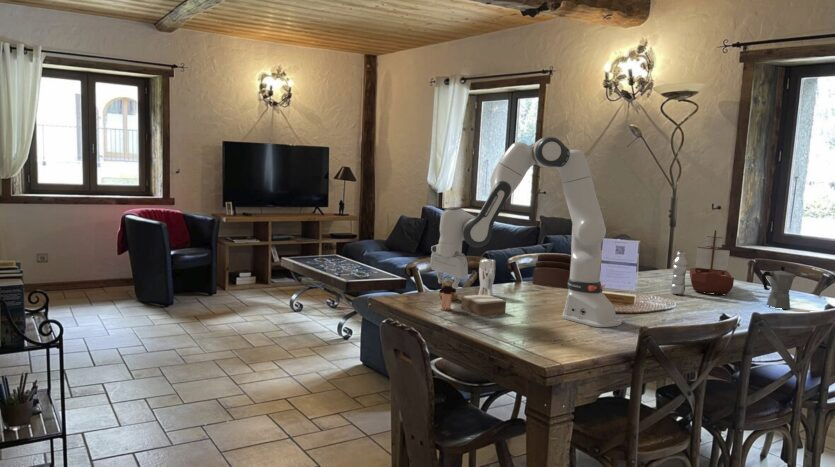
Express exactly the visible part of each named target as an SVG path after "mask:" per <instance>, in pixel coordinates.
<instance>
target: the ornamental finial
mask: <svg viewBox="0 0 835 467" xmlns="http://www.w3.org/2000/svg"><path fill="white" fill-rule="evenodd" d="M452 283H454V281H453V282H452ZM452 283H451V285H450V286H452ZM443 286H446V285H445V283H443V284H441V288H442V287H443ZM455 290H456V291H457V289H455ZM451 295H452V296H451V302H452V301H453V300H454V301H456V300H457V299H458V297H459V296H458V294H457V295H456V296H455V295H454V293H453V292H451ZM442 296H443V292H442V293H441V294H440V296H439V299H441V300H442Z"/></svg>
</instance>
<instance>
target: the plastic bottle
mask: <svg viewBox="0 0 835 467" xmlns="http://www.w3.org/2000/svg"><path fill="white" fill-rule="evenodd" d="M688 266H689V264H688V260H687V259H686V251H682V250H677V251H676V257H675V258H674V259H673V261H672V279H671V283H670V293H671V294H674V295H676V294H678V295H677V296H679V295H684V294H685V292H686V285H685V284H686V272H687V269H688Z"/></svg>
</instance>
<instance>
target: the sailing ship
mask: <svg viewBox="0 0 835 467" xmlns="http://www.w3.org/2000/svg"><path fill="white" fill-rule="evenodd" d="M723 238H724V237H720V236H717V230H713V236H710V235H709V236H706V240H705V241H706V242H705V247H704V246H703V247H701V246H697V247H696V248H697V249H696V257H695V267H694V268H693V267H691V268H690V269H689V277H690V282H691V283H690V284H691V287H692V289H693V291H694V292H696V291H698V292H697V293H700V292H705V293H714V294H726V295H727V294H729V292H731V290H732V288H733V286H734V282H735V281H734V280H735V277H733V276H732V275H731V273H730V272H728V270H729V260H730V250H731V249H725V248H723ZM705 293H704V294H705ZM714 294H713V295H714Z"/></svg>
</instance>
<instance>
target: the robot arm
mask: <svg viewBox="0 0 835 467" xmlns="http://www.w3.org/2000/svg"><path fill="white" fill-rule="evenodd" d="M533 166H535V167H539V168H543V169H544V168H547V169H548V168H552V167H553V168H555V170H557V171H558V173H559V176H560V181H561V186H562V189H563V193H564V197H565V201H566V205H567V208H568V209H567V210H568V212H569V216H570V218H571V219H570V220H571V223H572V226H571V247H570V248H571V250H570V253H571V254H570V257H571V267H570V278H569V279H568V288H567V289H568V291H567V296H566V299H565V305H564V309H563V312H562V319H564V320H569V321H572V322H576V323H579V324H583V325H587V326H591V327H595V328H610V327H617V326H621V325H622V323H623V322H622V320H620V319H618V318H616V307H615V305H614V304H613V303H612V302H611V301H610V300H609V298H607V296H606V295H605V294H604V292H603V291H604V290H603V289H604V288H605V287H606V285H604V284H603V285H602V283H601V282H602V281H600V279H601V268H602V267H601V266H602V241H604V239H605V237H606V234H607V228H606V224H605V221H604V216H603V213H602V210H601V207H600V203H599V200H598V198H597V194H596V193H597V192H596V189H595V185H594V181H593V176H592V173H591V168H590V166H589V163H588V161H587V159H586V156H585V154H584V152H583V151H581V150H579V149H569V148H568V147H567V146H566V145H565V144H564V143H563V142H562V141H561V140H560V139H559V138H557V137H555V136H554V137H553V136H546V137H543V138H539V139H538V140H537V141H535V142H533V143H532V144H531V145H529V144H526V143H524V142H520V141H519V142H518V141H517V142H513V143H512V144H511V145H510V146H509V147H508V148H507V149H506V150H505V152H504V153H503V154H502V156H501V158H500V159H499V160H498V162H497V164H496V166H495V168H494V169H493V172H492V174H491V177H490V180H489V182H490V192H489V194H488V197H487V199H486V201H484V202H485V203H484V205H483V206H482V207H481V210H480V211H479V213H478V215H477V216H475V215H472V214H471V213H469V212H468V211H466V210H464V209H463V208H462V207H458V206H457V207H455V206H453V207H449V208H445V209H444V210H443V211H442V213H441V215H440V221H439V240H438V244H435V245H432V246H431V247H430V248H431V249H430V251H431V255H430V267H431V271H436V275H437V282H438V284H441V285H442V284H443V283H444V279H445V278H444V276H443V275H447V276H451V277H453V279H454V280H453V282H454V283H452V288H454V289H456V290H457V289H458V288H459V283H460V282H461V279H467V277H468V276H469V271H468V270H469V268H468V266H469V265H468V260H467V257H466V255H465V254H464V253H462V250H463V241H465V243H466V244H467V245H469V246H470V247H472V248H477V249H478V248H482V247H484V246H486V245H487V244H489V242H490V240H491V237H492V233H493V227H494V224H495V221H496V220H497V218H498V216H499V215H500V213H501V210H502V209H503V207H504V205H505V204H506V202H507V201H508V200H509V198H510V197H511V195H513V193H514V192H515V190H517V188H518V187H519V185H520V184H521V183H522V181H523V179H524V177H525V176H526V175H527V172H528V171H529V170H530V168H532V167H533Z"/></svg>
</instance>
